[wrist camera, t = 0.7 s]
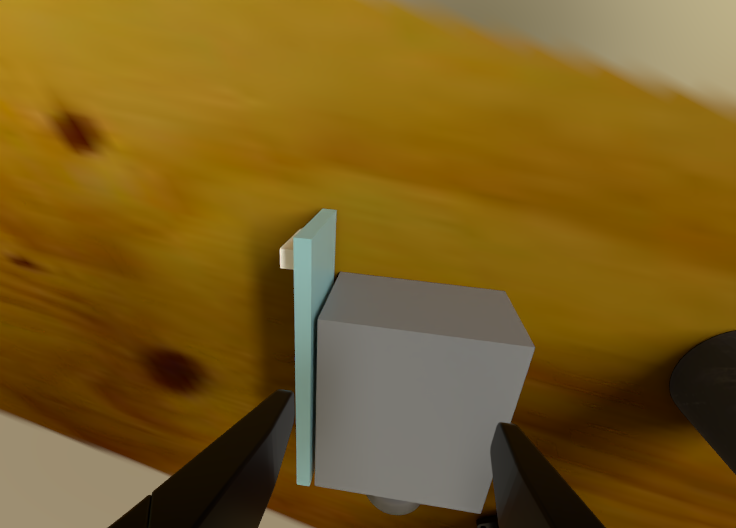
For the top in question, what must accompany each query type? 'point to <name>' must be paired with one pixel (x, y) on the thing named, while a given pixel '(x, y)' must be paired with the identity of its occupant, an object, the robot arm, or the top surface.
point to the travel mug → (710, 393)
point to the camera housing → (414, 389)
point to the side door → (309, 323)
